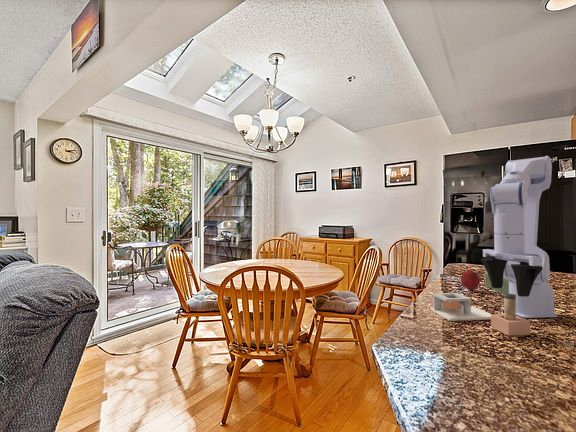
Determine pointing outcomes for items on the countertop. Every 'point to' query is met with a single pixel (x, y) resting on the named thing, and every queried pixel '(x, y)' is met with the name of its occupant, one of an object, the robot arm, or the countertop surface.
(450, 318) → the square socket plate
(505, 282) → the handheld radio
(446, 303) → the button
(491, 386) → the countertop surface
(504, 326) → the stylus holder
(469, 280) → the onion
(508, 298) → the stylus
